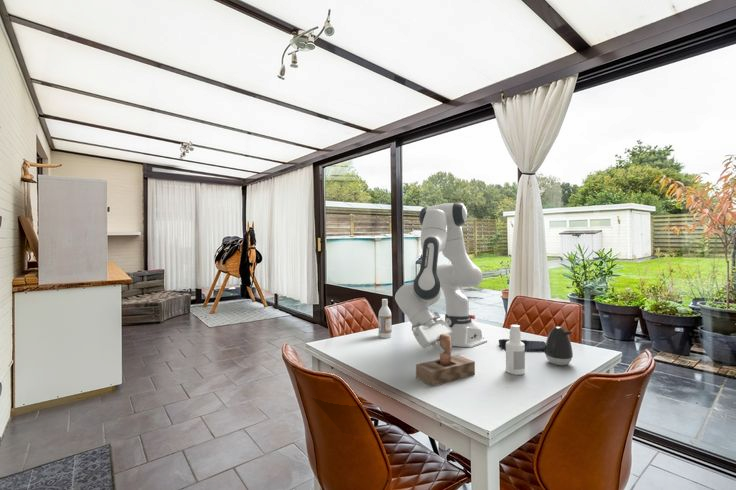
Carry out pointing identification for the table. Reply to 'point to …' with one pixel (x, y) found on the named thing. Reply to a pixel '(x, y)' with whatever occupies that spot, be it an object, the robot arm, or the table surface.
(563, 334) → the pump dispenser
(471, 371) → the socket block
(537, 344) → the dark slate chunk
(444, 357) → the peg
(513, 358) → the white bottle
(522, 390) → the table surface
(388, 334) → the bath foam
